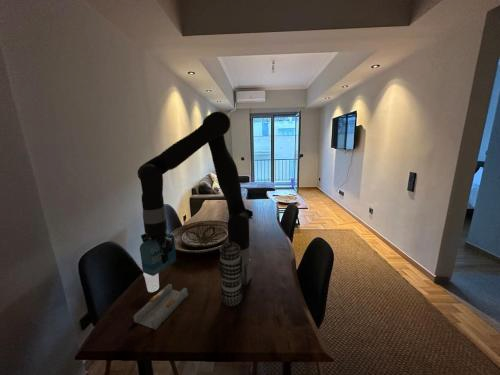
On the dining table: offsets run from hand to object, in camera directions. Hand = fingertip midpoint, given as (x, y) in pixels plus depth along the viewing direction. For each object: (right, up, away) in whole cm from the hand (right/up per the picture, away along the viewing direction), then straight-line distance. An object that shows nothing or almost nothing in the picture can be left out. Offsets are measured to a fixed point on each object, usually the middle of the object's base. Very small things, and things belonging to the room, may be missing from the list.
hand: (159, 260), depth 79 cm
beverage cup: (-9, -18, +13) cm, 24 cm away
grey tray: (0, -20, +2) cm, 20 cm away
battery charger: (+29, +3, +103) cm, 107 cm away
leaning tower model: (+27, -19, +6) cm, 34 cm away
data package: (0, -3, +1) cm, 3 cm away
